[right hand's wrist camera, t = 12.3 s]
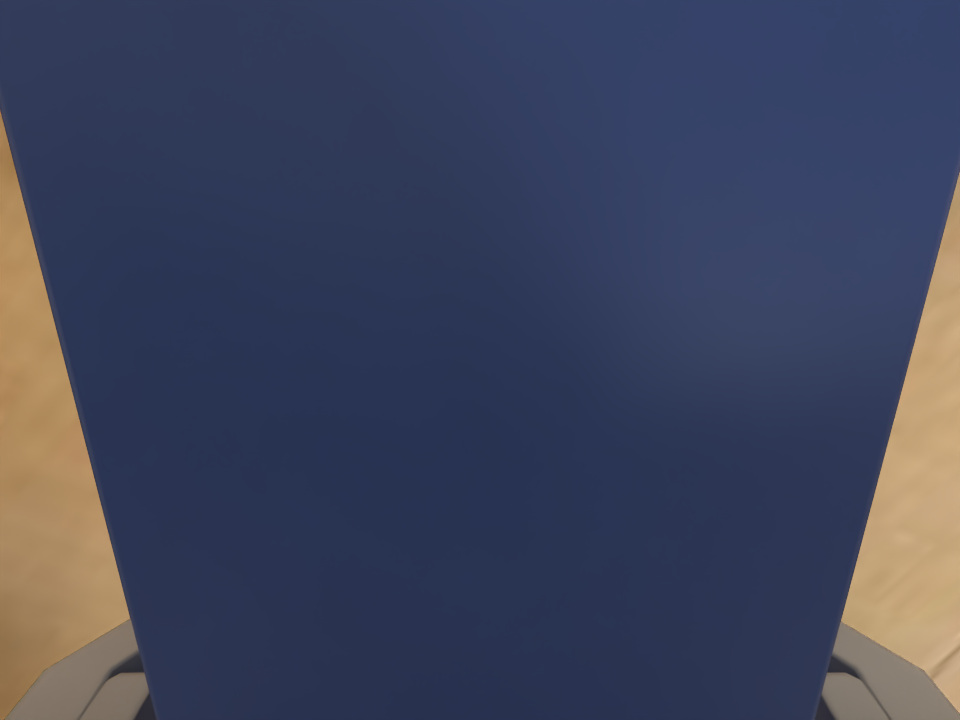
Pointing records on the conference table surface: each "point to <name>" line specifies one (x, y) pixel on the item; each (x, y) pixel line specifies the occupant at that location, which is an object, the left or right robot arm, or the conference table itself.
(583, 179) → the bar
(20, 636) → the conference table surface
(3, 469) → the conference table surface
